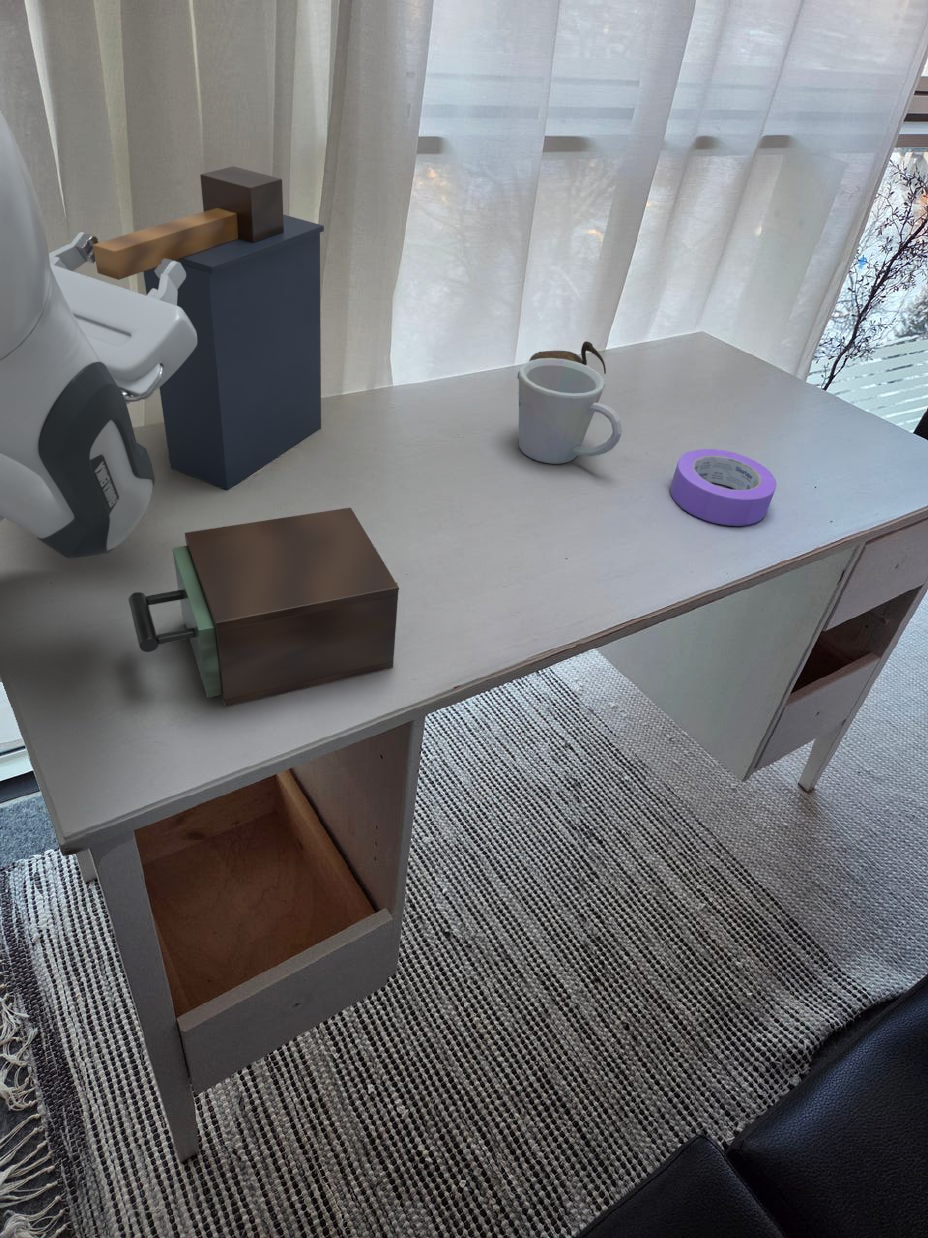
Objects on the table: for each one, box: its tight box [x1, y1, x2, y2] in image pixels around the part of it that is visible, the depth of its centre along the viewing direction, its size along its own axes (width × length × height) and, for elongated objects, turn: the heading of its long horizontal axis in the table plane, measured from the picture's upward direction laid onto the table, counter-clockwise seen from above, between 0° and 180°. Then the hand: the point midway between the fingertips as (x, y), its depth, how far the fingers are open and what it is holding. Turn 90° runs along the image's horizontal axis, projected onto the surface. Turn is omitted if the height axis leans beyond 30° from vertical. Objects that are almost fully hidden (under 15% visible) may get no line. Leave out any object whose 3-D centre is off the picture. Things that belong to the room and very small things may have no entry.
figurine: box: [517, 340, 607, 378], centre depth 117 cm, size 14×4×9 cm, turn 40°
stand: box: [142, 213, 325, 491], centre depth 92 cm, size 18×9×24 cm, turn 153°
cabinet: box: [184, 507, 400, 708], centre depth 72 cm, size 15×12×9 cm
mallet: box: [93, 166, 284, 281], centre depth 78 cm, size 21×6×5 cm, turn 153°
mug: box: [518, 358, 623, 465], centre depth 102 cm, size 10×15×10 cm
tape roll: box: [669, 448, 777, 527], centre depth 100 cm, size 12×12×4 cm
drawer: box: [128, 545, 222, 698], centre depth 70 cm, size 18×11×7 cm, turn 114°
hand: (134, 252), depth 73 cm, fingers open, 8 cm apart
